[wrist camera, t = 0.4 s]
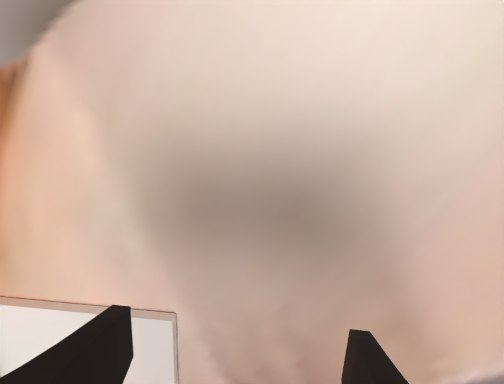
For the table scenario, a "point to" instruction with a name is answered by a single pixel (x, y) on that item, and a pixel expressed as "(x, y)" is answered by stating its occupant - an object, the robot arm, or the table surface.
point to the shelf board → (75, 316)
